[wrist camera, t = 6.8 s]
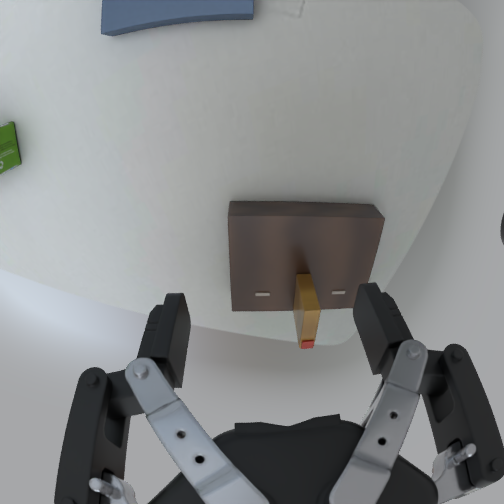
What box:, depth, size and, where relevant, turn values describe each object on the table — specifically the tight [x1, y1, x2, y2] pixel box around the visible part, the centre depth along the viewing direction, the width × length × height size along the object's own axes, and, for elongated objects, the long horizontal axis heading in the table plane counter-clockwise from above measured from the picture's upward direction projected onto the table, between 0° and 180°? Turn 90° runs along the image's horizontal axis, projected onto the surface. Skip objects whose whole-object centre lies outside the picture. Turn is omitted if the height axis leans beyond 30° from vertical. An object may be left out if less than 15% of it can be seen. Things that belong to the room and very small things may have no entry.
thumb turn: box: [293, 274, 321, 349], centre depth 27 cm, size 5×1×5 cm, turn 1°
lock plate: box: [228, 201, 385, 311], centre depth 28 cm, size 14×11×3 cm
